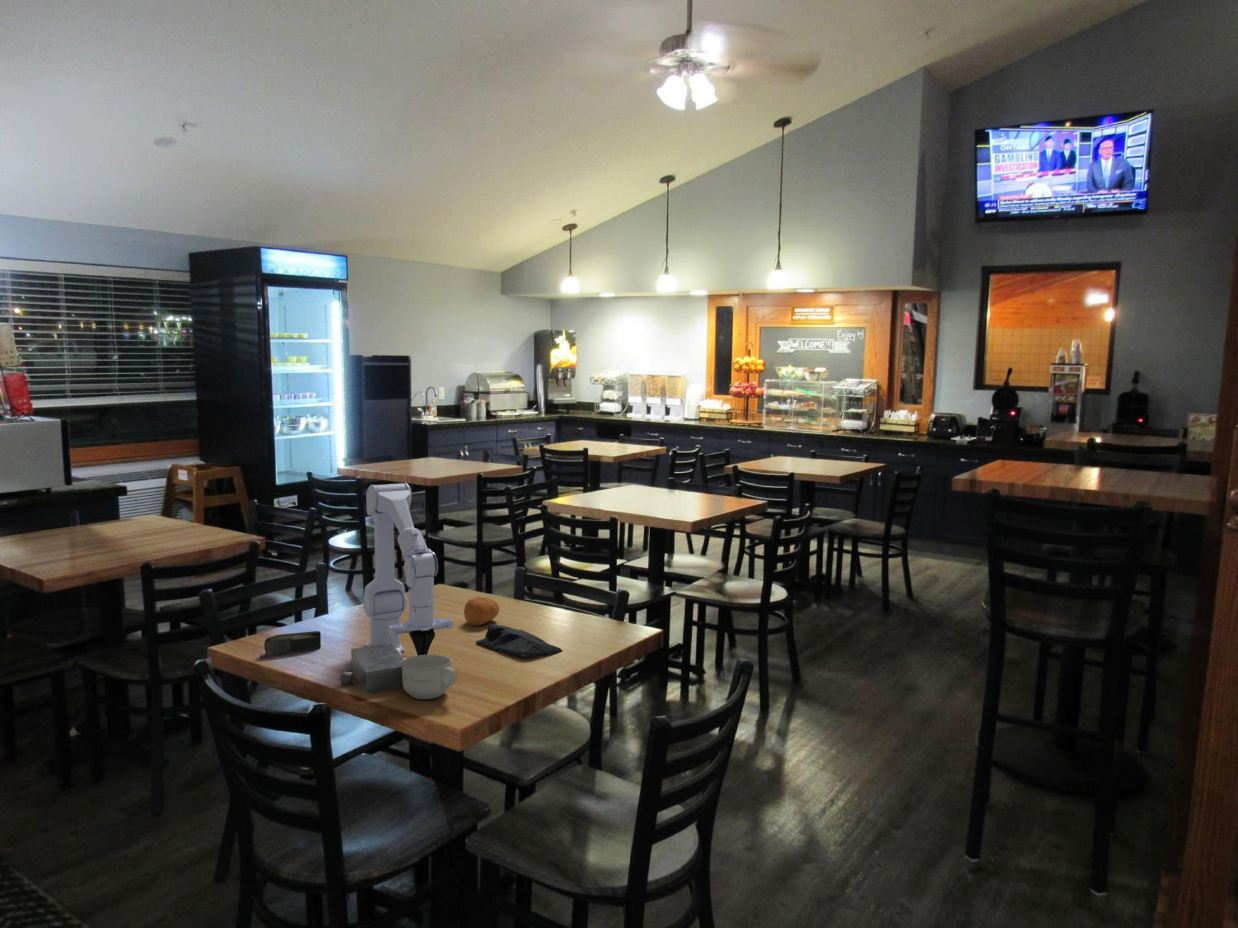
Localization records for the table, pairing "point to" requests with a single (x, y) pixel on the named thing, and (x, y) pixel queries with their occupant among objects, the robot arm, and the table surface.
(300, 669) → the table surface
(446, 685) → the teacup
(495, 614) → the potato
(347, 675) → the black dial
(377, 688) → the rack
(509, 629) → the black cloth
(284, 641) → the dark green rounded block
